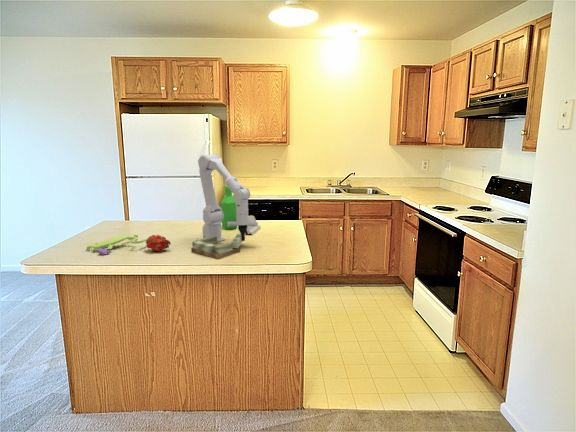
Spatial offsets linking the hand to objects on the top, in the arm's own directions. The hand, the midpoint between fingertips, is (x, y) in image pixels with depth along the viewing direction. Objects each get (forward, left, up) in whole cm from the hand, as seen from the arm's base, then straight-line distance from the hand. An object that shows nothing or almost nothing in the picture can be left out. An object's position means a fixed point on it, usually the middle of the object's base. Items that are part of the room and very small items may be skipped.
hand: (243, 240), depth 191 cm
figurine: (-47, -38, -4) cm, 60 cm away
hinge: (-17, +24, -3) cm, 29 cm away
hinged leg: (0, -4, -1) cm, 4 cm away
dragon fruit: (-27, -29, -3) cm, 40 cm away
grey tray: (-4, -14, -3) cm, 15 cm away
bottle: (-31, +22, -3) cm, 38 cm away
